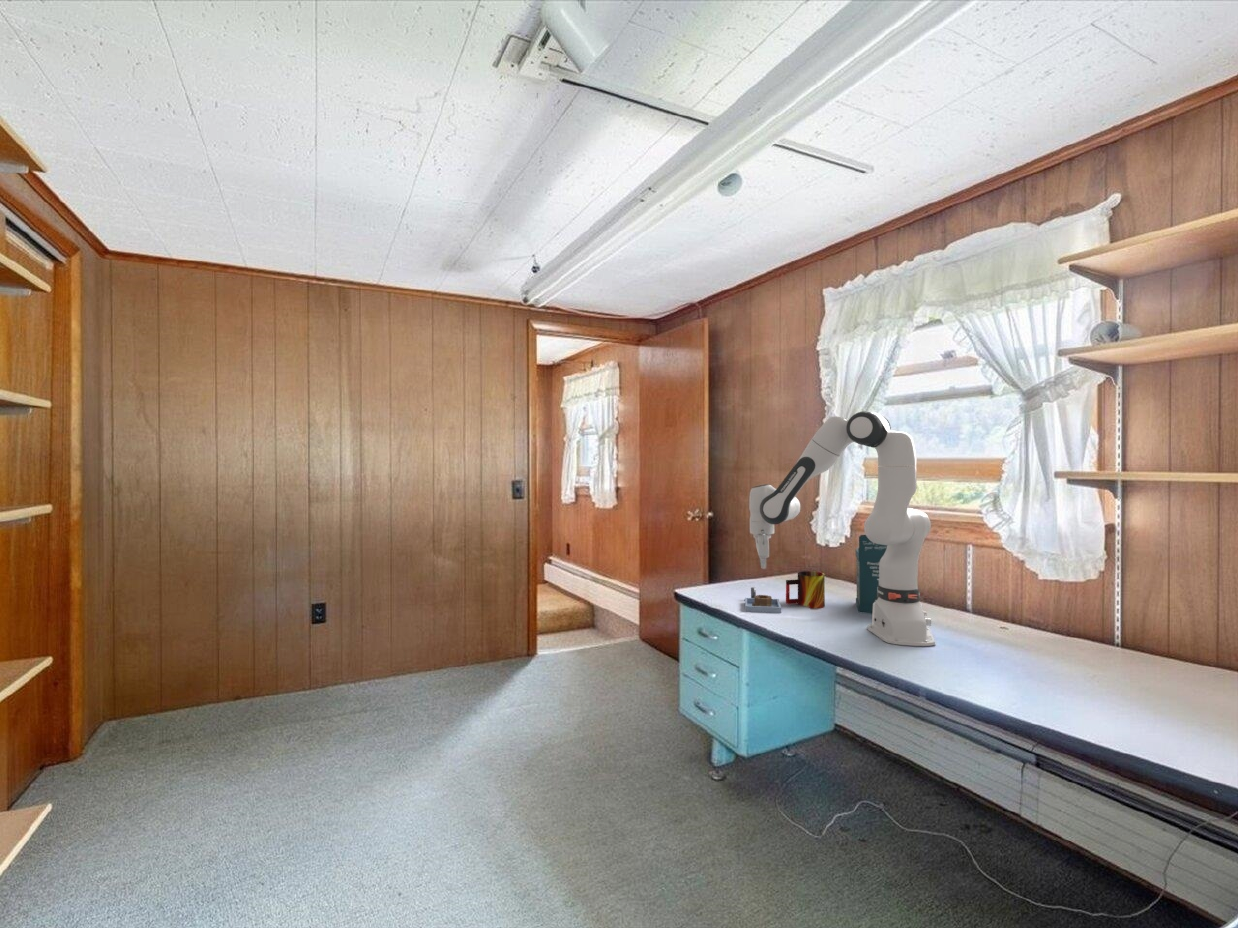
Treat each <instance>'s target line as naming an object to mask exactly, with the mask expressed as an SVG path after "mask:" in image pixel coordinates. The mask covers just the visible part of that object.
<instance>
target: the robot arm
mask: <svg viewBox="0 0 1238 928" xmlns="http://www.w3.org/2000/svg"><path fill="white" fill-rule="evenodd" d="M852 443H856V444H858V445H861V446H866V447H869V448H873V449H875V450H876V452H877V479H878V481H877V493H876V497H875V502H874V505H873V508H872V511H871V512H870V514H869V516H868V517H867V518H866V520H865V521H864V524H863V525H864V527H863V529H864V533H865V534H864V535H866V536H867V538H868V539H869V540H870V541H872V542H873V543H876V544H881V545H887V549H886V551H885V553H884V555H883V557H882V558H881V559H880V562H879V585H878V589H877V591H878V596H879V597H878V599H877V600H876V601H875V602H874V603H873V613H871V614H872V615H871V616H872V617H871V618H872V619H871V620H872V621H871V623H870V624H867V625H866V629H867V630H868V631H869V632H871V633H872V634H873V635H875V636H876V637H877V638H879V639H880V640H882V641H883V642H885V643H888V644H892V645H893V644H894V645H898V646H899V645H900V646H901V645H902V646H912V647H913V646H916V647H930V646H936V641H935V638H934V635H933V632H932V630H931V628H929V627H930V626H932V619H931V618H930V617H928V616H927V615H928V614H927V611H924V609H923V604H922V603H921V602H920V601H921V598H920V597H921V595H920V589H919V587H918V573H919V572H918V569H919V568H918V566H919V565H918V564H919V559H920V555H921V551H922V548H923V545H924V541H925V540H926V538H927V536H928V535H929V534H930V531H931V528H932V522H931V519H930V518H929V516H928V514H926V513H925V512H923V511H922V510H919V509H915V508H912V507H911V508H909V506H910V503H911V500H912V498H913V497H914V495H915V494H916V492H917V457H916V449H915V444H914V439H913V437H912V436H911V435H910V434H909V433H908V432H904V431H899V430H898V431H897V430H892V426H891V424H890V422H889V420H888V419H887V418H886V417H885V416H883V415H881V414H880V413H877V412H875V411H867V410H864V411H863V410H862V411H859V412H857V413H854V414H853V415H852V416H850V417H849V419H846V418H844V417H841V416H836V415H835V416H831V417H829V418H828V419H827V420H826V421H825V422H824V423H822V425H821V426H820V427H819V428H818V430H817V431H816V432H815V434H814V435H813V436H812V437H811V439H810V440H809V442H808V444H807V446H806V447H805V449H804V450H803V452H802V454H801V456H799V458H798V460H797V461H796V463H795V464H794V466H793V467H792V468H791V470H790V471H789V472H788V474H787V475H786V476H785V477H784V479H783V480H782V481H781V483H780V484H779V485H778V487H777V488H775V487H774V486H773V485H771V484H767V483H766V484H759V485H755V486H753V487H752V488H750V491H749V497H748V498H749V500H748V509H749V514H750V516H749V534H751V535H752V536H753V539H754V540H755V547H756V550H757V555H758V557H759V565H760V568H761V569H762V570H766V569H767V559H768V558H769V557H770V542H769V539H771V538H772V535H774V534H775V525H779V524H782V523H784V522H786V521H791V520H793V519H795V518H796V517H798V516H799V515H800V513H801V508H802V507H801V506H802V505H801V502H800V500H799V498H798V497H797V494H799V492H800V491H801V490H802V488H803V487H804V485H806V483H807V482H809V481H810V480H812V478H815V477H817V476H818V475H820V474H823V473H825V472H827V471H828V470H829V469H831V468H832V466H834V465H835V463H837V461H838V460H839V458H840V457H841V456H842V455H843V453H844V451H845V450H846V449H847V448H848V446H849V445H851V444H852ZM926 616H927V617H926Z"/></svg>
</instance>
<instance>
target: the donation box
mask: <svg viewBox="0 0 1238 928" xmlns="http://www.w3.org/2000/svg"><path fill="white" fill-rule="evenodd" d="M886 549H887V545H881V544H876V543H873V542H872V541H870V540H869V539H868V538H867V536H866V534H860V535H858V548H855V557H856V560H855V561H856V598H855V606H856V608H857V611H858V613H862V614H873V603H874V602H875V601H876V600H877V599H878V597H879V596H878V591H877V589H878V585H879V562H880V559H881V558H882V557H883V555H884V553H885V551H886Z"/></svg>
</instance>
